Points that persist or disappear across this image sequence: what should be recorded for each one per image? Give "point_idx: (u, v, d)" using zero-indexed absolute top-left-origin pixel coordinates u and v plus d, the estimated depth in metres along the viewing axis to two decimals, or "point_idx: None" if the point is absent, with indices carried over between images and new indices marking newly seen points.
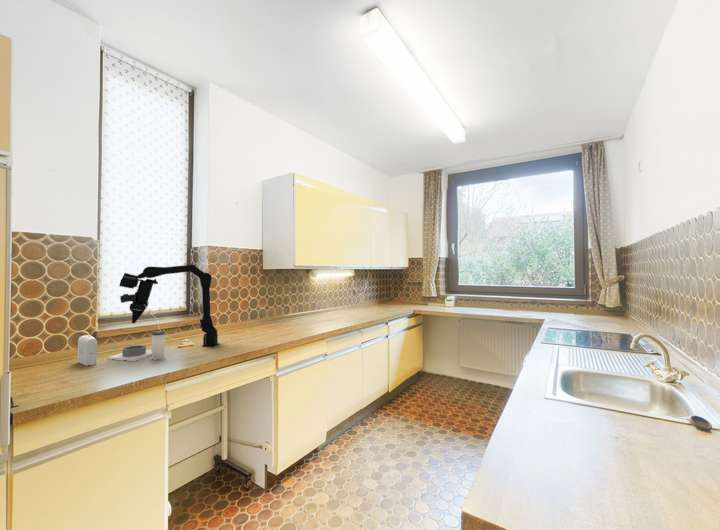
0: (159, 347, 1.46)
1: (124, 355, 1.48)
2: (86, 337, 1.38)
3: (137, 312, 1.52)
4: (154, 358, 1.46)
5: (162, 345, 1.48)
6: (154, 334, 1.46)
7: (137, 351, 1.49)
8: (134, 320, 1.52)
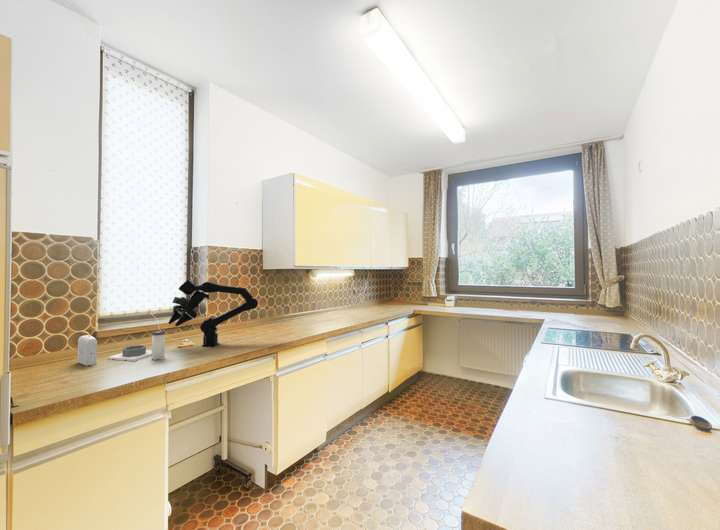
0: (159, 347, 1.46)
1: (124, 355, 1.48)
2: (86, 337, 1.38)
3: (185, 317, 1.61)
4: (154, 358, 1.46)
5: (162, 345, 1.48)
6: (154, 334, 1.46)
7: (137, 351, 1.49)
8: (178, 323, 1.59)
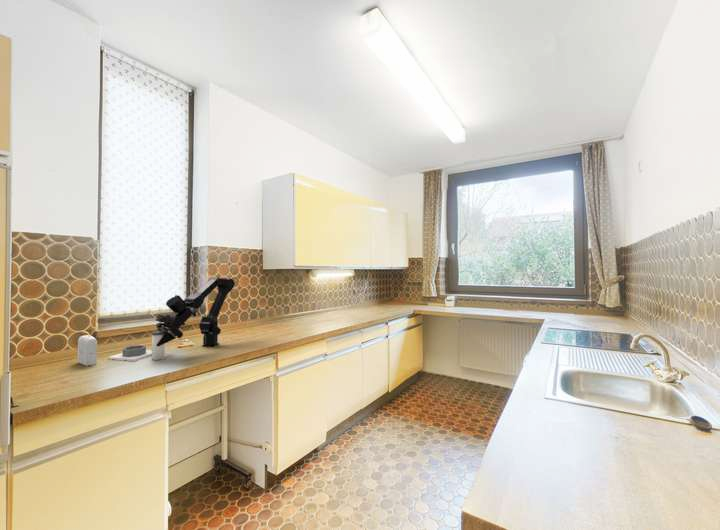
0: (159, 347, 1.46)
1: (124, 355, 1.48)
2: (86, 337, 1.38)
3: (168, 337, 1.48)
4: (154, 358, 1.46)
5: (162, 345, 1.48)
6: (154, 334, 1.46)
7: (137, 351, 1.49)
8: (160, 343, 1.46)
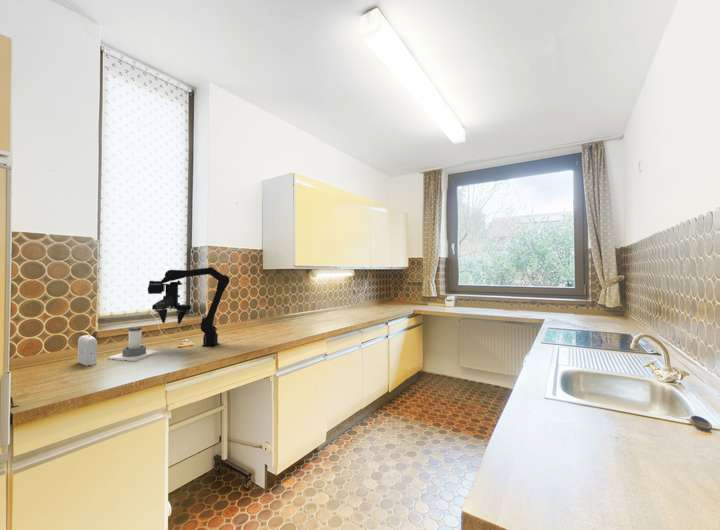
0: (135, 342, 1.50)
1: (124, 355, 1.48)
2: (86, 337, 1.38)
3: (181, 313, 1.66)
4: None
5: (138, 341, 1.51)
6: (130, 330, 1.49)
7: (137, 351, 1.49)
8: (180, 320, 1.66)
